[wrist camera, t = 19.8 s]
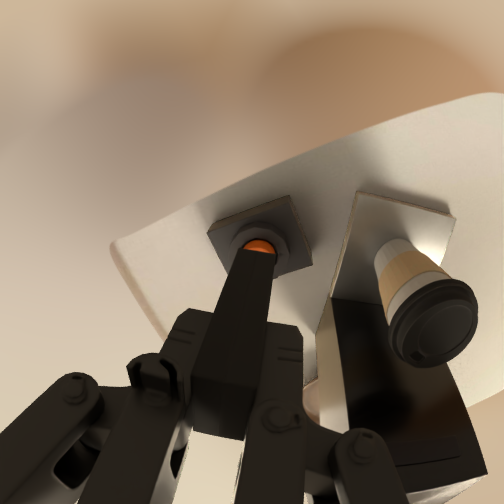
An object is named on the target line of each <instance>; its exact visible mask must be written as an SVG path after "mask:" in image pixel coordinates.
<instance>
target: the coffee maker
mask: <svg viewBox="0 0 504 504" xmlns="http://www.w3.org/2000/svg"><path fill="white" fill-rule="evenodd" d="M455 222H456V218H455V217H453V216H452V215H449V214H446V213H442V212H439V211H435V210H432V209H428V208H424V207H421V206H417V205H413V204H409V203H405V202H401V201H397V200H393V199H389V198H385V197H381V196H377V195H372V194H368V193H364V192H359V191H356V195H355V200H354V204H353V208H352V212H351V216H350V220H349V224H348V228H347V232H346V235H345V239H344V243H343V246H342V250H341V254H340V257H339V261H338V264H337V268H336V271H335V275H334V278H333V281H332V285H331V288H330V292H329V295H328V298H327V301H326V304H325V307H324V310H323V314H322V317H321V320H320V323H319V326H318V329H317V332H316V335H315V340H316V355H317V370H318V389H319V412H320V425H321V426H323V427H325V428H328V429H330V430H333V431H336V432H339V433H342V434H343V433H344V432H346V431H348V430H351V429H354V428H366V429H369V430H372V431H374V432H376V433H377V434H378V435H380V436H381V437H382V439H383V440H384V442H385V443H386V445H387V447H388V450H389V452H390V454H391V457H392V459H393V462H394V464H395V467H396V470H397V472H398V475H399V477H400V480H401V482H402V485H403V488H404V490H405V493H406V495H407V498H408V501H409V503H410V504H444V503H445V502H447V501H449V500H450V499H452V498H453V497H455V496H457V495H458V494H460V493H461V492H463V491H464V490H466V489H467V488H469V487H470V486H472V485H473V484H475V483H476V482H477V481H479V480H480V479H482V478H483V477H484V476H486V475H487V474H488V472H487V469H486V465H485V462H484V458H483V455H482V452H481V449H480V446H479V443H478V440H477V437H476V434H475V431H474V428H473V426H472V423H471V420H470V417H469V415H468V412H467V410H466V407H465V405H464V402H463V400H462V397H461V395H460V392H459V390H458V387H457V385H456V383H455V380H454V378H453V376H452V374H451V371H450V369H449V367H448V365H447V363H444V364H442V365H439V366H436V367H432V368H416V367H413V366H411V365H409V364H408V363H406V362H404V361H402V360H400V359H399V358H398V357H397V356H396V355H395V354H394V352H393V351H392V349H391V347H390V345H389V342H388V329H389V325H388V323H387V320H386V316H385V312H384V307H383V303H382V299H381V295H380V291H379V282H378V278H377V274H376V271H375V266H374V260H375V257H376V254H377V252H378V251H379V249H380V248H381V247H382V246H383V245H384V244H385V243H387V242H388V241H390V240H393V239H404V240H406V241H408V242H410V243H411V244H412V245H413V246H414V247H416V248H417V249H418V250H419V251H420V252H422V253H424V254H425V255H427V256H428V257H429V258H430V259H431V260H433V261H434V262H435V263H436V264H437V265H438V266H440V264H441V261H442V259H443V256H444V253H445V251H446V248H447V245H448V242H449V240H450V237H451V234H452V231H453V228H454V225H455Z"/></svg>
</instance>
